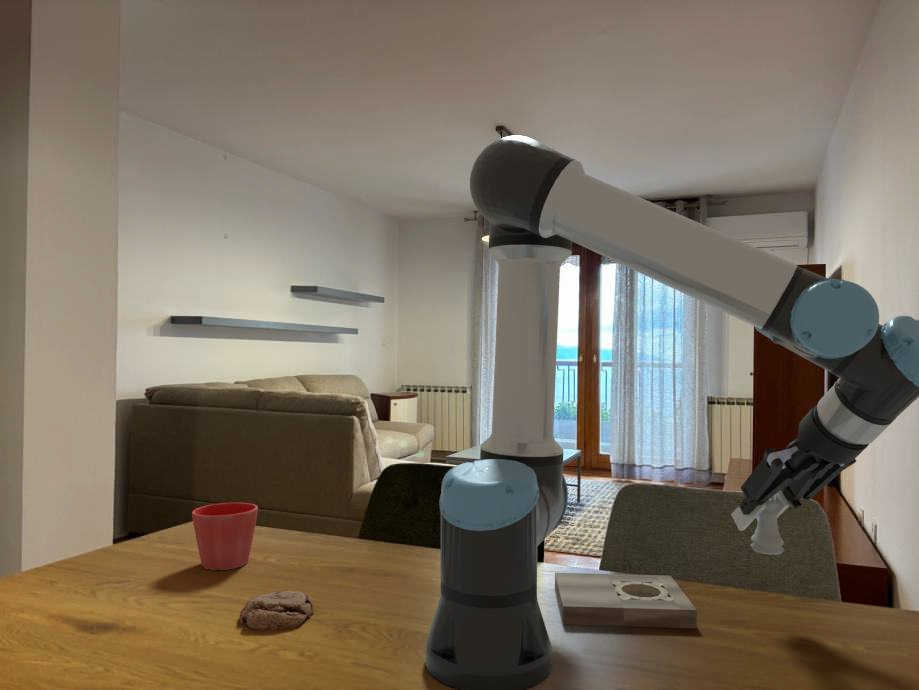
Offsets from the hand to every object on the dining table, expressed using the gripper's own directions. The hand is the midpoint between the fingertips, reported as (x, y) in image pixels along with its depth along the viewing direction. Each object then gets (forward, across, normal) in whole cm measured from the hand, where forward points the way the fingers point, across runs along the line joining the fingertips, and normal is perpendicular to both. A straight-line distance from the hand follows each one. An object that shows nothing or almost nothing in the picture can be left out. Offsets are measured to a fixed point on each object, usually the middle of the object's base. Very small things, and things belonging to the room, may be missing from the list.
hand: (748, 521), depth 99 cm
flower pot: (+39, +76, -19) cm, 87 cm away
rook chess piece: (0, 0, +5) cm, 5 cm away
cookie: (+20, +67, 0) cm, 70 cm away
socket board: (+12, +19, +6) cm, 23 cm away
